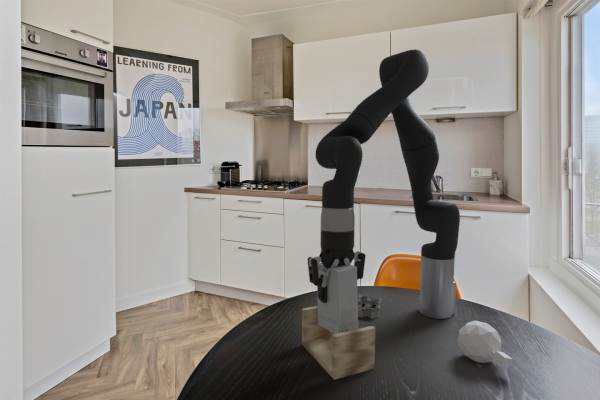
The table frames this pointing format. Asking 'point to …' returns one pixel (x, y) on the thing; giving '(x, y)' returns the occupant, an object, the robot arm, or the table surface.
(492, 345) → the perfume bottle
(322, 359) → the holder
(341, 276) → the skincare box
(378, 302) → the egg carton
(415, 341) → the table surface
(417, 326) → the table surface
